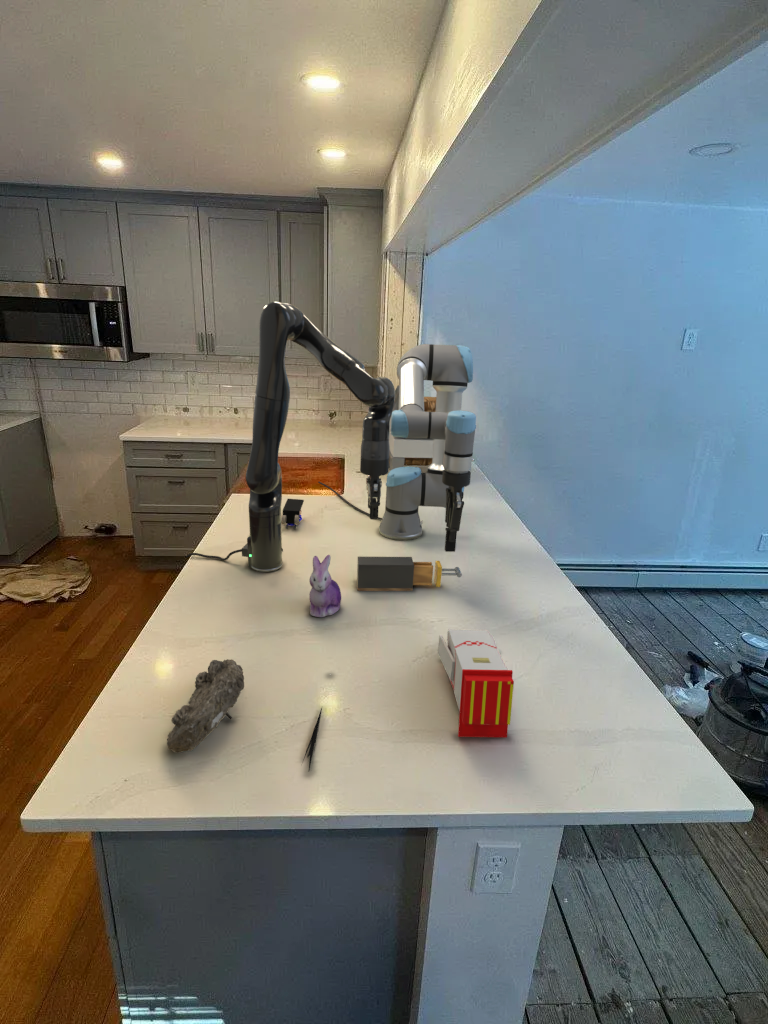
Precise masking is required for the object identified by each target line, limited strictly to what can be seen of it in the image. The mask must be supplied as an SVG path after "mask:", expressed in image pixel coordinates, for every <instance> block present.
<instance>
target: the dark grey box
mask: <svg viewBox="0 0 768 1024" xmlns="http://www.w3.org/2000/svg"><path fill="white" fill-rule="evenodd" d="M413 562H414V561H413V556H357V562H356V563H357V565H356V566H357V567H356V586H357V587H356V588H357V592H358V591H359V592H363V591H365V592H366V591H367V592H371V591H372V592H375V591H376V592H380V591H381V592H386V591H387V592H397V591H398V592H413V590H414V587H413V586H414V585H413V574H414V563H413Z"/></svg>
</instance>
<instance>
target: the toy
mask: <svg viewBox="0 0 768 1024" xmlns="http://www.w3.org/2000/svg"><path fill="white" fill-rule="evenodd" d="M446 640H447V643H446V641H445V639H444V636H443V635H442V634H439V637H438V646H437V656H438V657H439V659H440V661H441V663H442V666H443V668H444V670H445V672H446V674H447V677H448V679H449V681H450V684H451V687H452V690H453V693H454V697H455V701H456V705H457V708H458V711H459V714H458V715H459V716H458V730H457V731H458V732H457V737H458V738H508V731H509V726H510V725H511V717H512V707H513V697H514V696H513V695H514V684H515V680H514V679H513V673H514V671H513V670H512V669H508V667H507V665H506V662H505V661H504V659H503V658H502V655H501V653H500V651H499V649H498V647H497V643H496V639H495V637H494V635H493V634H491V632H490V631H489V629H467V628H466V629H465V628H463V629H461V628H460V629H459V628H448V630H447V639H446Z"/></svg>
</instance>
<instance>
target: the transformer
mask: <svg viewBox="0 0 768 1024" xmlns="http://www.w3.org/2000/svg"><path fill="white" fill-rule="evenodd" d="M398 408H399V384H398V385H397V386H396V388H395V401H394V406H393V411H395V410H398ZM435 410H436V396H424V412H435ZM393 411H392V412H393ZM391 417H392V415H391ZM433 442H434V439H421V438H401V437H394V436H392V435H391V418H390V429H389V447H390V450H389V472H390V471H391V470H393V469H395V468H399V467H405V466H413V467H428V466H429V465H431V464H432V458H433Z"/></svg>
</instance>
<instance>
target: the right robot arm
mask: <svg viewBox="0 0 768 1024" xmlns="http://www.w3.org/2000/svg"><path fill="white" fill-rule="evenodd" d="M473 360H474V359H473V354H472V351H471V348H470V347H469V346H466V345H465V346H464V345H458V344H432V343H423V344H422V343H421V344H418V345H415V346H413V347H411V348H410V349H408V350H407V351H405V353H404V354H403V355H402V356H401V357H400V358H399V361H398V363H397V366H396V376H397V379H398V381H399V382H398V383H399V384H398V385H399V408H398V410H395V411H393V412H392V417H391V435H392V436H394V437H401V438H421V439H434V442H433V458H432V464H431V465H428V466H427V469H426V472H422V469H421V468H420V467H419V466H407V465H405V466H404V467H399V468H395V469H393V470H391V471H390V470H389V471H388V473H387V474H386V482H385V486H386V488H385V489H386V490H385V504H384V505H385V507H384V508H385V509H384V513H383V515H382V517H379V516H378V519H377V520H380V521H381V522H379V526H378V533H379V534H380V535H381V536H382V537H385V538H387V539H389V540H395V541H410V540H415V539H418V538H420V537H421V536H422V535H423V520H421V518H420V515H419V507H433V508H434V507H435V508H444V509H445V515H444V516H445V519H444V523H445V526H446V527H445V540H444V541H445V542H444V552H446V553H447V552H448V553H449V552H450V553H451V552H453V553H455V552H456V545H457V534H458V533H457V532H459V531H460V527H461V522H462V515H463V509H464V506H465V501H464V500H463V499H464V495H465V494H464V493H465V492H464V491H465V487H466V488H467V487H468V486H469V485H471V477H472V476H471V475H472V472H471V470H472V466H473V465H472V464H473V463H472V462H474V461H475V458H474V457H473V454H474V443H475V435H476V429H477V415H476V414H475V413H474V412H471V411H469V410H462V403H463V393H464V391H466V390H467V389H468V385H469V384H470V383H472V382H473V380H474V361H473ZM425 381H430V382H431V381H432V386H431V387H432V388H433V389H434V390H435V391H436V395H435V397H436V410H435V412H424V397H425V383H424V382H425ZM318 484H320V485H322V486H324V487H326V488H327V489H328V490H330V491H332V493H334V494H335V495H336V496H338V497H339V498H340V499H341V500H343V501H344V502H345V503H346V504H348V505H349V506H350V507H352V508H353V509H355V510H356V511H358V512H360V513H362V514H364V515H367V516H368V517H370V512H367V511H365V510H362V509H360V508H359V507H357V506H356V505H354V504H353V503H351V502H349V501H348V500H347V499H345V498H344V497H343V496H342V495H341V494H340V493H338V492H337V491H336V490H335V489H333V488H332V487H330V486H329V485H327V484H325V483H323V482H321V481H318Z"/></svg>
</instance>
